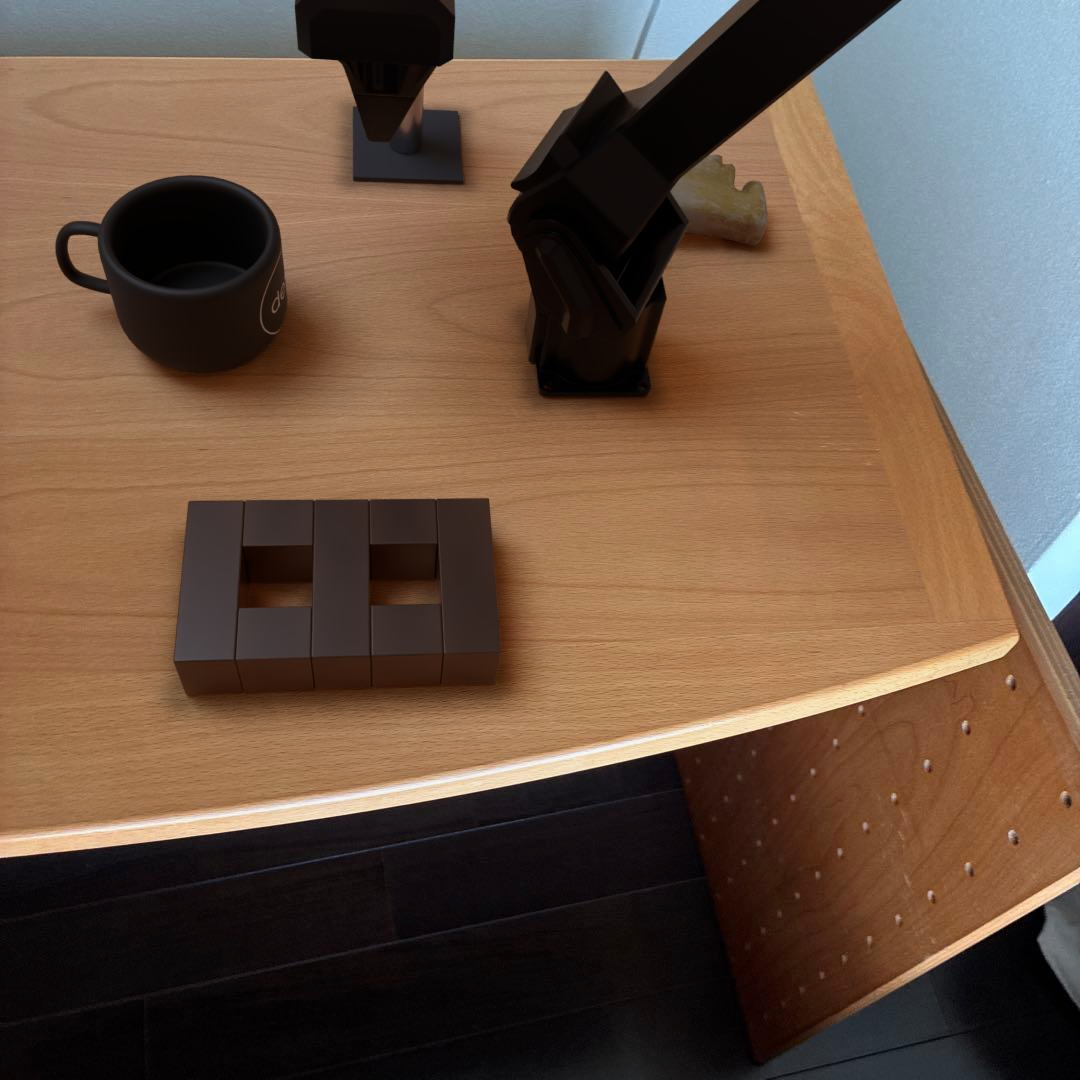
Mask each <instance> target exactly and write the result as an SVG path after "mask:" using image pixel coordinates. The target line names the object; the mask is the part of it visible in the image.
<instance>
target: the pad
mask: <svg viewBox="0 0 1080 1080" xmlns="http://www.w3.org/2000/svg"><path fill="white" fill-rule="evenodd" d="M461 142H462V141H461V129H460V121H459V111H458V110H451V109H450V110H447V109H428V108H427V109H425V108H423V135H422V147H421V148H420V150H419V151H417V152H415V153H412V154H401V153H398V152H395V151H394V150H392V149H391V148H390V146H389V144H388V143H379V142H370V141H369V140H368V139H367V137H366V134H365V130H364V127H363V124H362V121H361V118H360V115H359V112H358V109H357V106H352V180H353V181H357V182H359V181H360V182H361V181H362V182H386V183H387V182H389V183H390V182H392V183H419V184H420V183H421V184H449V185H464V179H465V178H464V169H463V157H462V145H461Z"/></svg>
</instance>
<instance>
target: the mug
mask: <svg viewBox="0 0 1080 1080" xmlns="http://www.w3.org/2000/svg"><path fill="white" fill-rule="evenodd" d="M281 235H282V234H281V229H280V225H279V222H278V219H277V217H276V216H275V213H274V212H273V210H272V209H271V207H270V206H269V205H268V204H267V203H266V201H265V200H264V199H262V198H261V197H260V196H259V195H258V194H257V193H255V192H254V191H252V190H250V189H248V188H247V187H245V186H243V185H241V184H239V183H237V182H234V181H231V180H229V179H225V178H220V177H216V176H210V175H201V174H200V175H199V174H189V175H188V174H185V175H174V176H167V177H163V178H157V179H155V180H152V181H148V182H145V183H143V184H141V185H139V186H136V187H135V188H133V189H131V190H129V191H127V192H126V193H125V194H123V195H122V196H121V197H119V198H118V199H117V200H116V201H115V202H114V203H113V204H112V205H111V206H110V207H109V208H108V210H107V211H106V212H105V215H103V218H102V220H101V222H100V223H99V222H95V221H89V220H73V221H70V222H67V223H66V224H64V225H63V226H62V227H61V228H60V229H59V231H58V232H57V235H56V239H55V244H54V245H55V246H54V247H55V248H54V250H55V257H56V261H57V264H58V267H59V269H60V271H61V272H62V275H64V277H65V278H66V279H67V280H68V281H69V282H71V283H72V284H74V285H77V286H78V287H81V288H84V289H86V290H91V291H93V292H98V293H102V294H105V295H106V294H107V295H110V296H111V300H112V303H113V306H114V310H115V314H116V316H117V319H118V322H119V324H120V326H121V329H122V331H123V332H124V334H125V335H126V337H127V339H128V340H129V341H130V342H131V344H133V346H135V347H136V349H137V350H138V351H139V352H141V353H142V354H144V355H145V356H146V357H147V358H149V359H150V360H152V361H153V362H155V363H157V364H158V365H161V366H163V367H164V368H167V369H170V370H173V371H175V372H180V373H185V374H191V375H192V374H194V375H210V374H218V373H219V374H220V373H224V372H225V373H226V372H230V371H232V370H236V369H238V368H241V367H243V366H245V365H248V364H249V363H251V362H253V361H254V360H255V359H257V358H258V357H260V356H261V355H262V354H263V353H264V352H266V351H267V350H268V349H269V347H270V346H271V345H272V344H273V343H274V341H275V339H276V338H277V336H278V335H279V333H280V332H281V329H282V327H283V324H284V322H285V320H286V315H287V311H288V310H287V309H288V292H287V283H286V273H285V263H284V256H283V245H282V243H283V242H282V236H281ZM72 236H88V237H94V238H97V251H98V255H99V259H100V262H101V265H102V266H101V267H102V269H103V272H104V274H105V278H101V277H97V276H94V275H90V274H88V273H85V272H83V271H81V270H79V269H78V268H76V267H75V265H74V264H73V261H72V260H71V257H70V254H69V240H70V238H71V237H72Z"/></svg>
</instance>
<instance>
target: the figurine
mask: <svg viewBox="0 0 1080 1080" xmlns="http://www.w3.org/2000/svg"><path fill="white" fill-rule="evenodd" d="M735 180H736V167H735V165H734V164H733V163H723V155H720V154H710V155H708V156H707V157H706V158H705V159H703V160H702V161H701V162H700V163H698V164H697V165H696V166H695V167H693V168H692V169H691V170H690V171H688V172H687V173H686V174H685V175H684V176H682V177H681V178H680V179H679V181H678V182H677V183H676V184H675V186H674V187H673V188H672V190H671V191H670V192H671V193H672V195H673V196H674V198H675V200H676V201H677V203H678V204H679V206H680V208H681V209H682V211H683V212H684V214H685V215H686V217H687V219H688V220H689V227H688V229H687V230H686V232H685V233H687V234H696V235H701V236H702V235H703V236H709V237H715V238H719V239H725V240H731V241H733V242H737V243H739V244H746V245H749V246H755V245H757V244H759V243H760V242H761V240H762V238H763V237H764V233H765V232H766V229H767V225H768V216H769V215H768V205H767V200H766V194H765V190H764V185H763V184H762V182H761V181H759V180H749V181H747V182H746V183H745V184H744V185H743V187H742V189H741V190H739V189H737V188H736V186H735Z"/></svg>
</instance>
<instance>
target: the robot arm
mask: <svg viewBox="0 0 1080 1080" xmlns="http://www.w3.org/2000/svg"><path fill="white" fill-rule="evenodd" d="M902 1H903V0H738V1H736V3H734V4H733V5H732V6H731V7H730V8H729V9H728V10H727V11H726V12H725V13H724V14H723V15H721V17H719V19H718V20H716V21H715V22H714V23H713V24H712V25H711V26H710V27H709V28H708V29H707V30H705V31H704V32H703V34H701V35H700V36H699V37H698V38H697V39H696V40H695V41H694V42H693V43H692V44H690V45H689V46H688V47H687V48H686V49H685V50H684V51H683V52H682V53H681V54H680V55H679V56H678V57H677V58H676V59H674V60H673V61H672V63H670V64H669V65H668V66H667V67H666V68H665V69H664V70H663V71H662V72H661V73H660V74H659V75H657V76H656V77H655V78H654V79H653V80H652V81H650V82H649V83H647V84H645V85H643V86H640V87H637V88H634V89H630V90H626V91H623V90H622V89H621V87H620V86H619V85H618V83H617V82H616V80H615V79H614V78H613V76H612V75H611V73H610V72H609V71H608V70H604V71H603V73H602V74H601V75H600V77H599V78H598V80H597V81H596V82H595V83H594V86H593V87H592V88H591V89H590V90H589V93H588V94H587V96H585V98H584V99H583V100H582V101H581V102H579V103H578V104H576V105H574V106H572V107H571V106H570V107H568V108H565V109H563V110H562V111H561V113H560V114H559V115H558V117H557V118H556V119H555V120H554V122H553V124H552V125H551V127H550V128H548V131H547V132H546V133H545V135H544V136H543V137H542V139H541V140H540V142H539V143H538V144H537V146H536V148H535V149H534V150H533V152H532V153H531V154H530V156H529V157H528V159H527V160H526V161H525V163H524V164H523V166H522V167H521V168H520V170H519V171H518V173H517V174H516V175H515V177H514V178H513V180H512V181H511V183H510V185H509V186H510V188H511V189H513V190H515V191H517V192H519V193H518V195H517V196H516V198H515V199H514V200H513V202H512V203H511V205H510V206H509V208H508V211H507V216H506V222H507V224H508V225H509V228H510V234H511V237H512V238H513V241H514V242H515V244H516V247H517V248H518V250H519V252H520V253H521V255H522V260H523V263H524V267H525V271H526V274H527V279H528V282H529V286H530V293H529V300H528V307H527V313H526V320H525V326H524V336H525V343H526V353H527V354H526V355H527V361H528V363H529V364H530V365H531V366H534V369H535V378H536V387H537V392H538V394H539V395H541V396H542V397H544V398H648V396H650V394H651V391H652V382H651V376H650V371H649V366H648V363H649V360H650V356H651V353H652V351H653V346H654V343H655V340H656V336H657V333H658V330H659V327H660V323H661V320H662V317H663V313H664V310H665V307H666V303H667V299H668V297H667V292H666V287H665V283H664V278H663V275H664V272H666V269H667V267H668V266H669V263H670V262H671V260H672V258H673V256H674V255H675V252H676V250H677V249H678V247H679V245H680V243H681V241H682V239H683V238H684V236H685V235H686V233H687V232H686V230H687V229H688V227H689V220H688V219H687V217H686V215H685V214H684V212H683V211H682V209H681V208H680V206H679V204H678V203H677V201H676V200H675V198H674V196H673V195H672V193H671V192H670V191H671V190H672V188H673V187H674V186H675V184H676V183H677V182H678V181H679V179H680V178H681V177H682V176H684V175H685V174H686V173H687V172H688V171H690V170H691V169H692V168H693V167H695V166H696V165H697V164H698V163H700V162H701V161H702V160H703V159H705V158H706V157H707V156H708V155H712V153H714V151H716V150H717V149H719V148H720V147H721V146H722V145H724V144H725V143H726V142H727V141H729V140H730V139H731V138H732V137H734V136H735V135H736V134H737V133H738V132H740V131H741V130H742V129H744V128H745V127H746V126H747V125H748V124H750V123H751V122H753V120H755V119H756V118H758V117H759V116H760V115H761V114H762V113H764V111H766V110H767V109H769V108H770V107H771V106H772V105H773V104H774V103H776V102H777V101H778V100H779V99H781V98H782V97H784V96H785V95H787V93H788V92H790V91H791V90H793V88H795V87H796V86H797V85H798V84H799V83H801V82H802V81H804V80H805V79H806V78H807V77H809V76H810V75H811V74H812V73H813V72H815V71H816V70H817V69H819V68H820V67H821V66H823V64H824V63H826V62H827V61H828V60H829V59H831V58H832V57H833V56H834V55H835V54H837V53H838V52H839V51H840V50H842V49H844V48H845V47H846V46H847V45H848V44H850V43H851V42H852V41H853V40H854V39H856V38H857V37H858V36H859V35H861V34H862V33H863V32H864V31H865V30H867V29H868V28H869V27H871V26H872V25H873V24H874V23H876V22H877V21H878V20H879V19H881V18H882V17H883V16H884V15H886V13H888V12H889V11H890V10H892V9H893V8H894V7H896V6H897V5H898V4H899V3H901V2H902ZM294 16H295V32H296V42H297V50H298V51H299V52H301V53H302V54H304V55H305V56H307V57H308V58H309V59H311V60H319V61H321V60H323V61H337V62H339V63H340V64H341V66H342V68H343V70H344V73H345V75H346V78H347V81H348V84H349V86H350V90H351V93H352V96H353V99H354V102H355V105H356V106H357V109H358V112H359V115H360V118H361V121H362V124H363V127H364V130H365V134H366V137H367V139H368V140H369V141H370V142H379V143H388V142H391V140H392V139H393V137H394V135H395V134H396V132H397V130H398V128H399V127H400V125H401V123H402V122H403V120H404V118H405V116H406V115H407V113H408V111H409V110H410V108H411V106H412V104H413V103H414V101H415V99H416V97H417V96H418V94H419V93H420V91H421V89H422V88H423V86H424V87H425V85H426V83H427V81H428V80H429V78H431V76H432V74H433V73H434V72H435V70H436V68H441V67H442V66H444V65H446V64H447V63H449V62H451V61H453V60H454V54H455V53H454V50H455V30H456V1H455V0H294ZM642 388H643V389H642Z"/></svg>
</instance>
